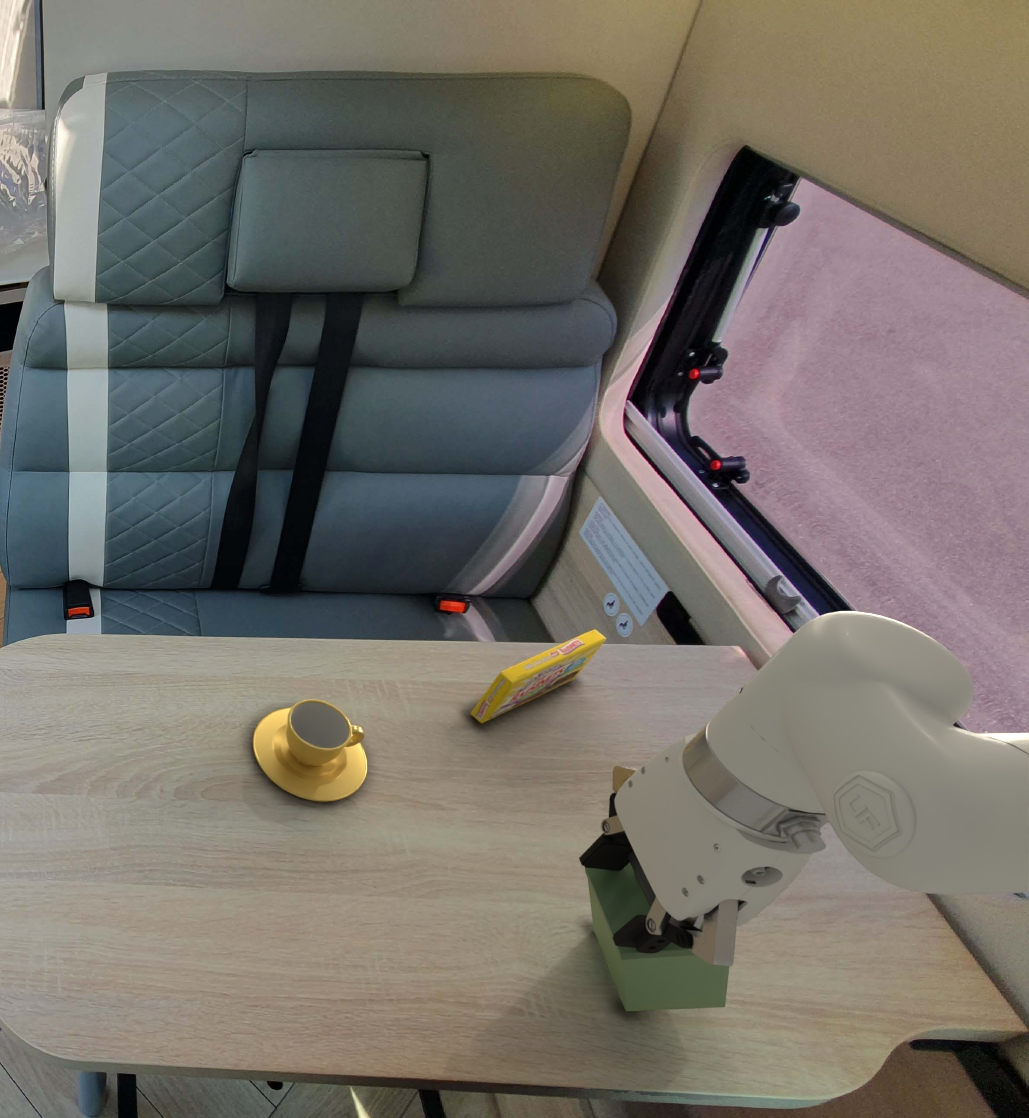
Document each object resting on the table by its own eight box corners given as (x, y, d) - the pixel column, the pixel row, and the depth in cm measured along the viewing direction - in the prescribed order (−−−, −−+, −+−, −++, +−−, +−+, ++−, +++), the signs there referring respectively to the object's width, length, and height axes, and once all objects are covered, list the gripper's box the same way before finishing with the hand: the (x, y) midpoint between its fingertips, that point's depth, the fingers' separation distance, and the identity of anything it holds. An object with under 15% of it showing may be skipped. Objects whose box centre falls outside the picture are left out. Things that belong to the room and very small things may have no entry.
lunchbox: (731, 1008, 66) (742, 925, 57) (625, 1012, 68) (619, 935, 60) (689, 920, 71) (692, 832, 62) (591, 927, 74) (581, 845, 65)
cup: (265, 803, 82) (276, 774, 79) (242, 709, 91) (251, 678, 88) (381, 803, 83) (398, 774, 79) (346, 709, 92) (360, 679, 88)
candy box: (483, 727, 90) (512, 683, 85) (468, 714, 91) (496, 669, 86) (575, 682, 95) (608, 637, 90) (561, 670, 96) (592, 625, 91)
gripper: (915, 916, 45) (722, 1027, 57) (745, 676, 57) (617, 810, 70) (773, 902, 45) (612, 1015, 57) (636, 667, 58) (528, 801, 70)
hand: (616, 901), depth 63 cm, fingers closed on lunchbox, 5 cm apart
